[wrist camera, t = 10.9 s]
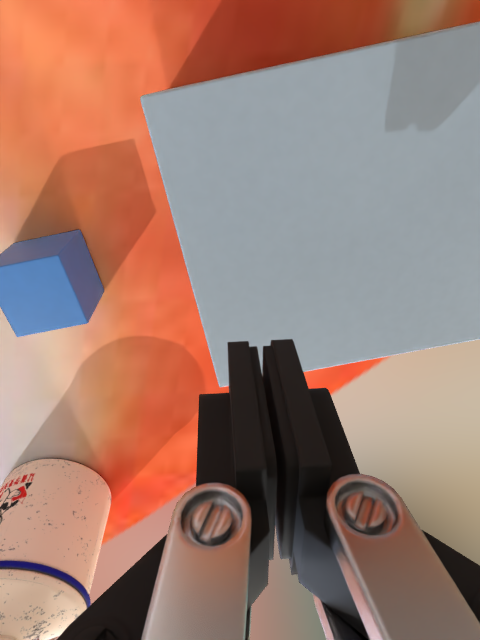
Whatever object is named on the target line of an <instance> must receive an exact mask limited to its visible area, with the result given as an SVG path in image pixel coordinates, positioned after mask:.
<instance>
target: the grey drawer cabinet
mask: <svg viewBox="0 0 480 640" xmlns="http://www.w3.org/2000/svg"><path fill="white" fill-rule="evenodd" d="M140 100H141V104H142V107H143V111H144V115H145V118H146V122H147V125H148V129H149V133H150V136H151V140H152V144H153V147H154V151H155V155H156V158H157V162H158V165H159V169H160V173H161V176H162V180H163V184H164V187H165V191H166V195H167V198H168V202H169V205H170V209H171V213H172V216H173V220H174V224H175V227H176V231H177V235H178V238H179V242H180V245H181V249H182V253H183V256H184V260H185V264H186V267H187V271H188V275H189V278H190V282H191V285H192V289H193V293H194V296H195V300H196V304H197V307H198V311H199V315H200V318H201V322H202V325H203V329H204V333H205V336H206V340H207V344H208V347H209V351H210V355H211V358H212V362H213V365H214V369H215V373H216V376H217V380H218V384H219V386H220V387H224V386H229V374H228V345H227V342H238V341H248V342H249V347H251V346H257V349H258V354H259V360H260V366H261V372H262V367H263V346H270V343H271V340H282V339H293V341H294V344H295V347H296V351H297V354H298V357H299V360H300V363H301V367H302V370H303V372H305V371H310V370H316V369H321V368H327V367H332V366H338V365H343V364H348V363H354V362H359V361H365V360H370V359H375V358H381V357H386V356H392V355H397V354H402V353H408V352H413V351H418V350H424V349H429V348H435V347H440V346H446V345H451V344H456V343H462V342H467V341H473V340H478V339H480V21H479V22H474V23H469V24H465V25H460V26H455V27H450V28H446V29H441V30H437V31H432V32H427V33H423V34H418V35H414V36H409V37H404V38H400V39H395V40H391V41H386V42H382V43H377V44H372V45H368V46H363V47H359V48H354V49H350V50H345V51H340V52H336V53H331V54H327V55H322V56H318V57H313V58H308V59H304V60H299V61H295V62H290V63H285V64H281V65H276V66H272V67H267V68H263V69H258V70H253V71H249V72H244V73H240V74H235V75H231V76H226V77H221V78H217V79H212V80H208V81H203V82H199V83H194V84H189V85H185V86H180V87H176V88H171V89H167V90H163V91H159V92H155V93H151V94H146V95H142V96H141V97H140Z"/></svg>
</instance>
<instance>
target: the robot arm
mask: <svg viewBox="0 0 480 640" xmlns="http://www.w3.org/2000/svg"><path fill="white" fill-rule="evenodd" d="M227 345H228V374H229V393H219V394H200V396H199V418H198V447H197V476H196V487H194V488H192V489H191V490H190V491H188V492H186V493H185V494H184V495H183V496H182V498H181V499H180V500H179V501H178V502H177V504H176V507H175V509H174V511H173V514H172V518H171V522H170V526H169V530H168V534H167V535H166V536H165V537H163V538H162V539H161V540H160V541H159V542H158V543H157V544H156V545H155V546H154V547H153V548H152V549H151V550H149V551H148V552H147V553H146V554H145V555H144V556H143V557H142V558H141V559H140V560H139V561H138V562H136V563H135V565H134V566H132V567H131V568H130V569H129V570H128V571H127V572H126V573H125V574H124V575H123V576H122V577H120V579H118V580H117V581H116V582H115V583H114V584H113V585H112V586H111V587H110V588H109V589H107V590H106V591H105V592H104V593H103V594H102V595H101V596H100V597H99V598H98V599H97V600H96V601H95V602H94V603H92V605H90V606H89V607H88V608H87V609H86V610H85V611H84V612H83V613H82V614H81V615H80V616H78V617H77V618H76V619H75V620H74V621H73V622H72V623H71V624H70V625H69V626H68V627H67V628H66V629H65V631H64V632H63V633H62V634H61V635H60V636H58V637H55V638H52V639H49V640H250V624H251V605H252V604H253V603H254V601H255V600H256V599H257V598H258V596H259V595H260V593H261V592H262V591H263V590H264V588H265V587H266V586H267V584H268V566H269V560H273V554H274V534H275V527H276V534H277V541H278V548H279V554H280V558H281V559H289V561H290V568H291V573H292V575H293V574H298V579H299V583H301V584H302V585H303V586H304V587H305V588H307V589H308V590H309V591H310V592H311V593H313V596H314V601H315V606H316V609H317V612H318V615H319V618H320V621H321V624H322V627H323V630H324V633H325V635H326V639H327V640H480V566H479V565H478V564H476V563H474V562H473V561H471V560H470V559H468V558H466V557H465V556H463V555H462V554H460V553H458V552H457V551H455V550H454V549H452V548H450V547H449V546H447V545H446V544H444V543H442V542H441V541H439V540H438V539H436V538H434V537H433V536H431V535H429V534H428V533H426V532H424V531H423V530H421V529H420V527H419V525H418V524H417V522H416V521H415V519H414V517H413V516H412V514H411V513H410V511H409V509H408V508H407V506H406V505H405V503H404V501H403V500H402V498H401V497H400V496H399V495H398V493H397V492H396V491H395V490H394V489H393V488H392V487H391V486H389V485H388V484H386V483H385V482H384V481H382V480H379V479H377V478H375V477H372V476H369V475H363V474H360V473H359V470H358V467H357V465H356V462H355V459H354V457H353V454H352V452H351V449H350V446H349V443H348V441H347V438H346V436H345V433H344V430H343V427H342V425H341V422H340V420H339V417H338V414H337V411H336V409H335V406H334V403H333V401H332V398H331V395H330V393H329V391H328V389H326V388H317V389H308V386H307V383H306V379H305V376H304V373H303V370H302V367H301V363H300V360H299V357H298V354H297V351H296V347H295V344H294V341H293V339H282V340H271V343H270V346H263V367H262V372H261V366H260V360H259V354H258V349H257V346H251V347H249V342H248V341H238V342H227ZM32 640H39V638H35V639H32Z"/></svg>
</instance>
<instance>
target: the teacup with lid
mask: <svg viewBox="0 0 480 640" xmlns="http://www.w3.org/2000/svg"><path fill="white" fill-rule="evenodd" d="M110 505H111V492H110V489H109V487H108V485H107V483H106V482H105V480H104V479H103V478H102V477H101V476H100V475H99V474H98V473H96V472H95V471H93V470H92V469H90V468H88V467H86V466H84V465H82V464H79V463H76V462H73V461H68V460H63V459H40V460H34V461H30V462H28V463H25V464H23V465H20V466H19V467H17V468H16V469H14V470H13V471H12V472H11V473H10V474H9V475H8V476H7V477H6V479H5V481H4V482H3V484H2V486H1V488H0V640H32V639H35V638H39V640H49V639H52V638H55V637H58V636H60V635H61V634H62V633H63V632H64V631H65V629H66V628H67V627H68V626H69V625H70V624H71V623H72V622H73V621H74V620H75V619H76V618H77V617H78V616H80V615H81V614H82V613H83V612H84V611H85V610H86V609H87V608H88V607H89V606H90V597H89V593H90V589H91V585H92V581H93V577H94V572H95V568H96V564H97V560H98V555H99V551H100V547H101V543H102V539H103V535H104V531H105V526H106V522H107V518H108V514H109V510H110Z"/></svg>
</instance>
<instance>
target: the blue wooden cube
mask: <svg viewBox="0 0 480 640" xmlns="http://www.w3.org/2000/svg"><path fill="white" fill-rule="evenodd" d="M103 292H104V288H103V286H102V283H101V281H100V278H99V276H98V273H97V270H96V268H95V265H94V263H93V260H92V258H91V255H90V253H89V250H88V248H87V245H86V243H85V240H84V238H83V235H82V233H81V230H74V231H69V232H65V233H60V234H55V235H50V236H45V237H40V238H35V239H31V240H26V241H21V242H16V243H13V244H12V245H11V246H10V247H8V248H7V249H6V250H5V251H4V252H2V253H1V254H0V307H1V309H2V311H3V312H4V314H5V316H6V318H7V320H8V321H9V323H10V325H11V327H12V329H13V330H14V332H15V334H16V336H17V337H20V336H25V335H30V334H35V333H40V332H45V331H50V330H56V329H61V328H66V327H71V326H76V325H81V324H86V323H88V322H89V320H90V318H91V316H92V314H93V312H94V310H95V308H96V306H97V304H98V302H99V300H100V298H101V296H102V294H103Z"/></svg>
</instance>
